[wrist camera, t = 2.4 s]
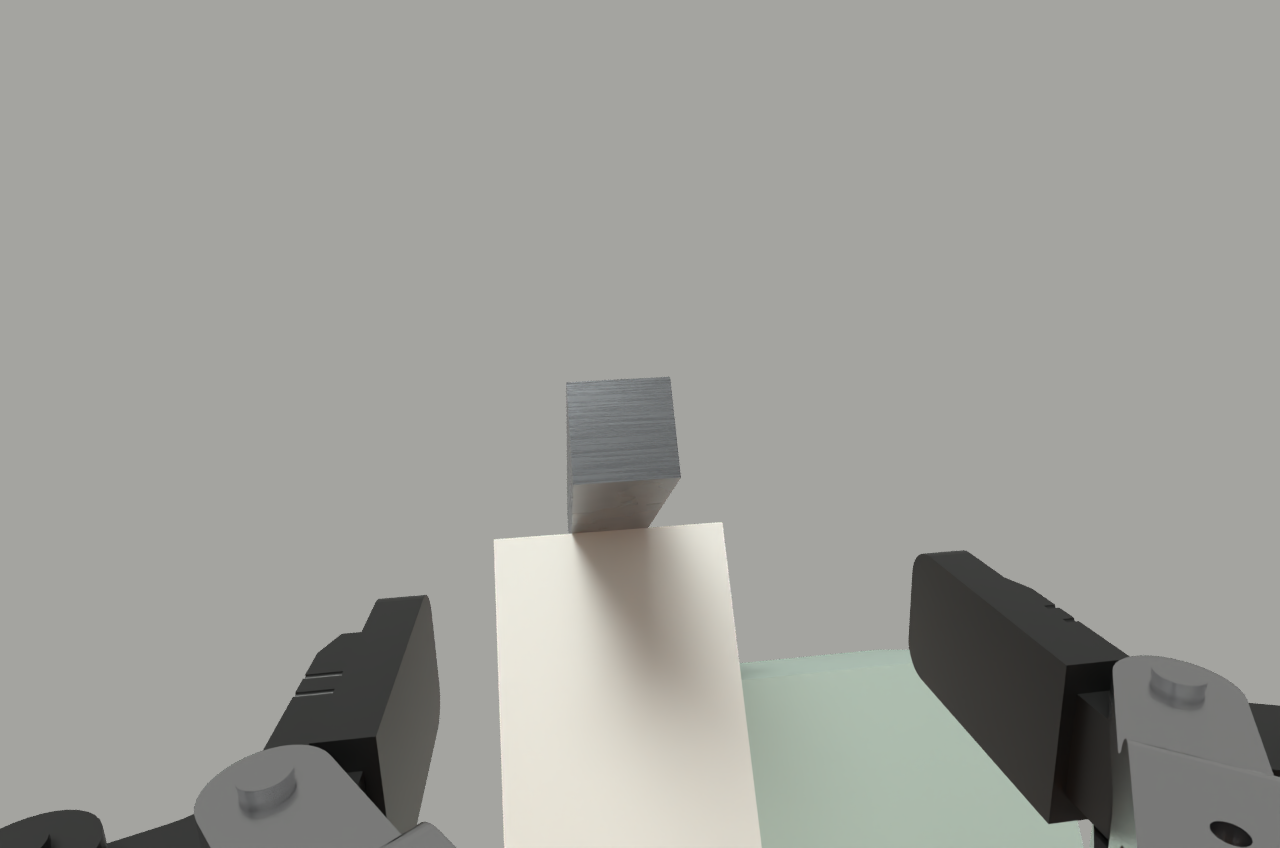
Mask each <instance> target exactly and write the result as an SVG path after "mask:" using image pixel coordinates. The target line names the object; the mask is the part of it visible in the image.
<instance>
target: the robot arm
mask: <svg viewBox="0 0 1280 848" xmlns="http://www.w3.org/2000/svg"><path fill="white" fill-rule="evenodd" d="M912 574H913V575H912V590H911V608H910V626H909V650H910V655H911V659H912V663H913V665H914V668H915V670H916V672H917V674H918V676H919V677H920V678H921V680H922V681H923V682H924V683H925V684H926V685H927V687H928V688H929V689H930V690H931V691H932V692H933V693H934V695H935V696H936V697H937V698H938V699H939V700H940V701H941V702H942V704H943V705H944V706H945V707H946V708H947V709H948V710H949V712H950V713H951V714H952V715H953V716H954V717H955V718H956V720H957V721H958V722H959V723H960V724H961V725H962V726H963V728H964V729H965V730H966V731H967V732H968V733H969V734H970V735H971V737H972V738H973V739H974V740H975V741H976V742H977V743H978V745H979V746H980V747H981V748H982V749H983V750H984V751H985V753H986V754H987V755H988V756H989V757H990V758H991V759H992V761H993V762H994V763H995V764H996V765H997V766H998V767H999V768H1000V770H1001V771H1002V772H1003V773H1004V774H1005V775H1006V776H1007V778H1008V779H1009V780H1010V781H1011V782H1012V783H1013V784H1014V786H1015V787H1016V788H1017V789H1018V790H1019V791H1020V792H1021V794H1022V795H1023V796H1024V797H1025V798H1026V799H1027V800H1028V801H1029V803H1030V804H1031V805H1032V806H1033V807H1034V808H1035V809H1036V811H1037V812H1038V813H1039V814H1040V815H1041V816H1042V817H1043V819H1044V820H1045V821H1046V822H1047V823H1048V824H1054V823H1062V822H1069V821H1077V820H1084V819H1089V820H1090V821H1091V822H1092V824H1093V825H1092V833H1091V840H1090V848H1280V706H1276V705H1265V704H1253V703H1248V701H1247V699H1246V697H1245V695H1244V694H1243V693H1242V692H1241V690H1240V689H1239V688H1238V687H1236V686H1235V685H1234V684H1233V683H1231V682H1230V681H1228V680H1227V679H1225V678H1223V677H1222V676H1220V675H1218V674H1216V673H1214V672H1212V671H1209V670H1207V669H1205V668H1202V667H1200V666H1197V665H1194V664H1191V663H1188V662H1184V661H1180V660H1176V659H1172V658H1166V657H1159V656H1131V657H1129V656H1128V655H1126V654H1125V653H1124V652H1122V651H1121V650H1119V649H1118V648H1117V647H1115V646H1114V645H1112V644H1111V643H1109V642H1108V641H1106V640H1105V639H1104V638H1102V637H1101V636H1099V635H1098V634H1096V633H1095V632H1093V631H1092V630H1091V629H1089V628H1087V627H1086V626H1085V625H1083V624H1082V623H1080V622H1079V621H1077V622H1075V621H1074V618H1073V617H1072V616H1070V615H1069V614H1068V613H1066V612H1065V611H1063V610H1062V609H1060V608H1055V604H1053V603H1052V602H1050V601H1049V600H1047V599H1046V598H1044V597H1043V596H1042V595H1040V594H1039V593H1037V592H1036V591H1034V590H1033V589H1031V588H1029V587H1026V586H1024V585H1021V584H1019V583H1016V582H1014V581H1011V580H1009V579H1007V578H1004V577H1003V576H1001V575H1000V574H999V573H997V572H996V571H994V570H993V569H991V568H990V567H988V566H987V565H986V564H984V563H983V562H982V561H980V560H979V559H977V558H976V557H975V556H973V555H972V554H970V553H969V552H967V551H964V550H963V551H951V552H939V553H927V554H921V555H919V556H918V557H917V558H916V560H915V562H914V566H913V573H912ZM439 715H440V689H439V678H438V670H437V659H436V650H435V641H434V631H433V623H432V613H431V606H430V601H429V598H428V596H427V595H421V596H409V597H397V598H385V599H378V600H377V601H376V603H375V605H374V607H373V609H372V611H371V613H370V616H369V618H368V620H367V622H366V624H365V626H364V628H363V630H362V632H359V633H347V634H341V635H340V636H339V637H338V638H336V639H335V640H334V641H332V642H331V643H330V644H329V645H327V646H326V647H325V648H323V649H322V650H321V651H320V652H318V653H317V655H316V657H315V659H314V660H313V662H312V664H311V666H310V668H309V669H308V671H307V673H306V677H305V679H303V680H302V682H301V683H300V685H299V687H298V689H297V691H296V695H295V697H293V698H292V700H291V701H290V703H289V705H288V707H287V709H286V710H285V712H284V714H283V716H282V718H281V719H280V721H279V723H278V725H277V726H276V728H275V730H274V732H273V734H272V736H271V737H270V739H269V741H268V743H267V744H266V746H265V748H264V750H263V751H260V752H257V753H255V754H252V755H250V756H248V757H245V758H243V759H241V760H239V761H237V762H235V763H234V764H232V765H231V766H229V767H227V768H226V769H224V770H223V771H222V772H220V773H219V774H218V775H217V776H215V777H214V778H213V779H212V780H211V781H210V782H209V783H208V784H207V785H206V786H205V788H204V789H203V790H202V791H201V793H200V795H199V796H198V798H197V800H196V803H195V806H194V814H193V815H191V816H188V817H186V818H184V819H181V820H179V821H176V822H173V823H170V824H168V825H164V826H161V827H158V828H155V829H152V830H148V831H145V832H143V833H139V834H136V835H133V836H129V837H126V838H123V839H120V840H117V841H114V842H111V843H106V838H105V834H104V830H103V826H102V824H101V821H100V819H99V818H97V817H96V816H95V815H93V814H91V813H89V812H85V811H80V810H62V811H54V812H49V813H44V814H40V815H36V816H33V817H30V818H26V819H23V820H21V821H18V822H15V823H12V824H10V825H8V826H6V827H4V828H1V829H0V848H456V847H455V846H454V845H453V844H452V843H451V842H450V841H449V840H448V839H447V838H446V837H445V836H444V835H443V833H442V832H440V830H438V829H437V828H436V827H435V826H434V825H432V824H430V823H428V822H421V823H420V824H418V825H417V821H418V816H419V812H420V807H421V803H422V798H423V793H424V789H425V785H426V780H427V776H428V771H429V766H430V762H431V757H432V753H433V748H434V744H435V739H436V734H437V730H438V724H439Z"/></svg>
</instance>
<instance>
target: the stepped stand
mask: <svg viewBox="0 0 1280 848" xmlns="http://www.w3.org/2000/svg"><path fill="white" fill-rule="evenodd" d="M494 559H495V587H496V588H495V591H496V618H497V619H496V620H497V647H498V675H499V676H498V679H499V708H500V735H501V736H500V738H501V766H502V796H503V826H504V848H1084V847H1083V843H1082V838H1081V834H1080V830H1079V826H1078V821H1069V822H1062V823H1054V824H1048V823H1047V822H1046V821H1045V820H1044V819H1043V817H1042V816H1041V815H1040V814H1039V813H1038V812H1037V811H1036V809H1035V808H1034V807H1033V806H1032V805H1031V804H1030V803H1029V801H1028V800H1027V799H1026V798H1025V797H1024V796H1023V795H1022V794H1021V792H1020V791H1019V790H1018V789H1017V788H1016V787H1015V786H1014V784H1013V783H1012V782H1011V781H1010V780H1009V779H1008V778H1007V776H1006V775H1005V774H1004V773H1003V772H1002V771H1001V770H1000V768H999V767H998V766H997V765H996V764H995V763H994V762H993V761H992V759H991V758H990V757H989V756H988V755H987V754H986V753H985V751H984V750H983V749H982V748H981V747H980V746H979V745H978V743H977V742H976V741H975V740H974V739H973V738H972V737H971V735H970V734H969V733H968V732H967V731H966V730H965V729H964V728H963V726H962V725H961V724H960V723H959V722H958V721H957V720H956V718H955V717H954V716H953V715H952V714H951V713H950V712H949V710H948V709H947V708H946V707H945V706H944V705H943V704H942V702H941V701H940V700H939V699H938V698H937V697H936V696H935V695H934V693H933V692H932V691H931V690H930V689H929V688H928V687H927V685H926V684H925V683H924V682H923V681H922V680H921V678H920V677H919V676H918V674H917V672H916V670H915V668H914V665H913V663H912V659H911V655H910V650H870V651H861V652H850V653H840V654H830V655H820V656H811V657H810V656H809V657H799V658H789V659H779V660H769V661H759V662H748V663H739V656H738V647H737V639H736V631H735V623H734V614H733V606H732V598H731V590H730V582H729V573H728V565H727V557H726V549H725V540H724V532H723V524H722V522H719V523H704V524H692V525H679V526H665V527H653V528H639V529H626V530H613V531H599V532H586V533H573V534H560V535H548V536H534V537H520V538H507V539H494Z"/></svg>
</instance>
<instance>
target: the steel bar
mask: <svg viewBox="0 0 1280 848" xmlns="http://www.w3.org/2000/svg"><path fill="white" fill-rule="evenodd" d="M566 387H567V388H566V393H567V497H568V498H567V502H568V503H567V504H568V529H569V534H573V533H586V532H599V531H613V530H626V529H639V528H648V527H649V525H650V524H651V522H652V521H653V519H654V518H655V516H656V515H657V513H658V512H659V510H660V509H661V507H662V505H663V504H664V503H665V501H666V499H667V498H668V496H669V495H670V493H671V492H672V490H673V489H674V487H675V486H676V484H677V482H678V481H679V480H680V478H681V475H680V466H679V456H678V448H677V438H676V429H675V419H674V410H673V400H672V391H671V382H670V377H660V378H640V379H621V380H604V381H603V380H602V381H584V382H567V384H566Z"/></svg>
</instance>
